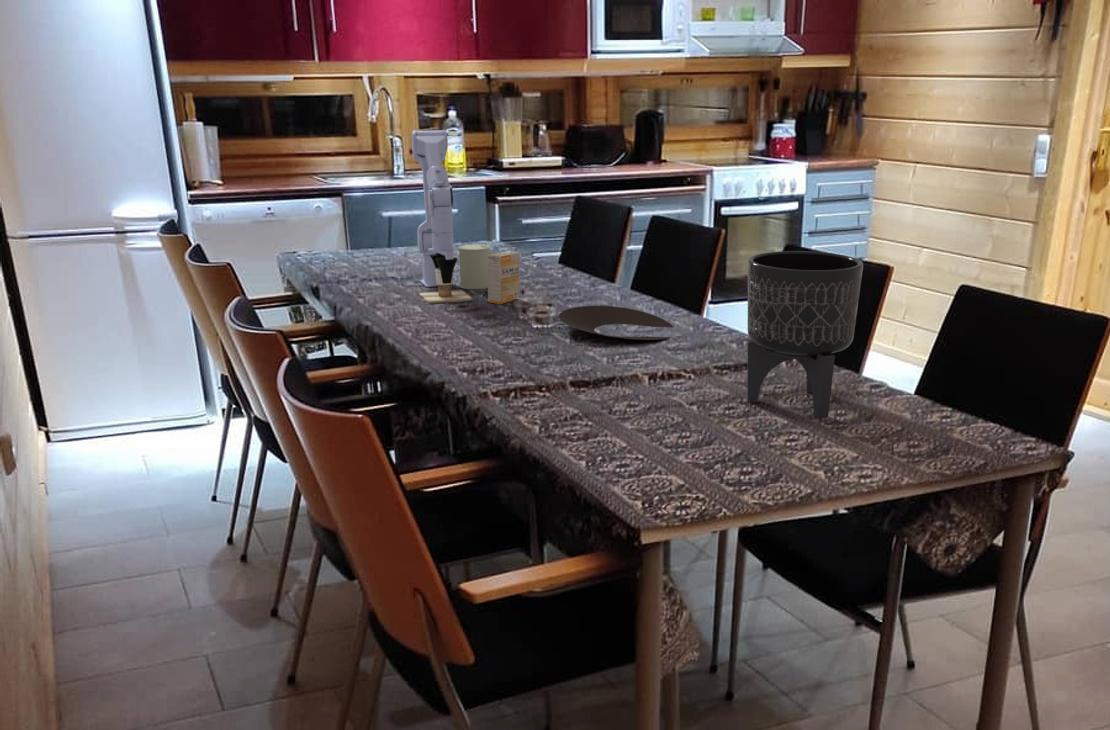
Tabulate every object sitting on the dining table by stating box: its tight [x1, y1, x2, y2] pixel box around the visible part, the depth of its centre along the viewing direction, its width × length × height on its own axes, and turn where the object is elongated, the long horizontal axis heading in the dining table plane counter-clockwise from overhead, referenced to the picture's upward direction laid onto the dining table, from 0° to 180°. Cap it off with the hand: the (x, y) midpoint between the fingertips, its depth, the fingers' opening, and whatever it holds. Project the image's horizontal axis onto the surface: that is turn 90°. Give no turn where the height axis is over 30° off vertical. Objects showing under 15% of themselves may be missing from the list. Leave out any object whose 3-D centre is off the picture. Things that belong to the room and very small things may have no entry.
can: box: [458, 243, 491, 290], centre depth 273 cm, size 9×9×12 cm
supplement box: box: [487, 250, 521, 305], centre depth 254 cm, size 8×5×13 cm, turn 143°
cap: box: [435, 268, 454, 286], centre depth 259 cm, size 5×5×4 cm
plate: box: [558, 305, 675, 341], centre depth 224 cm, size 28×28×4 cm
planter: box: [746, 250, 864, 419], centre depth 169 cm, size 20×20×26 cm
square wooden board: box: [418, 285, 473, 305], centre depth 260 cm, size 12×12×4 cm
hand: (444, 281), depth 259 cm, fingers closed on cap, 5 cm apart
